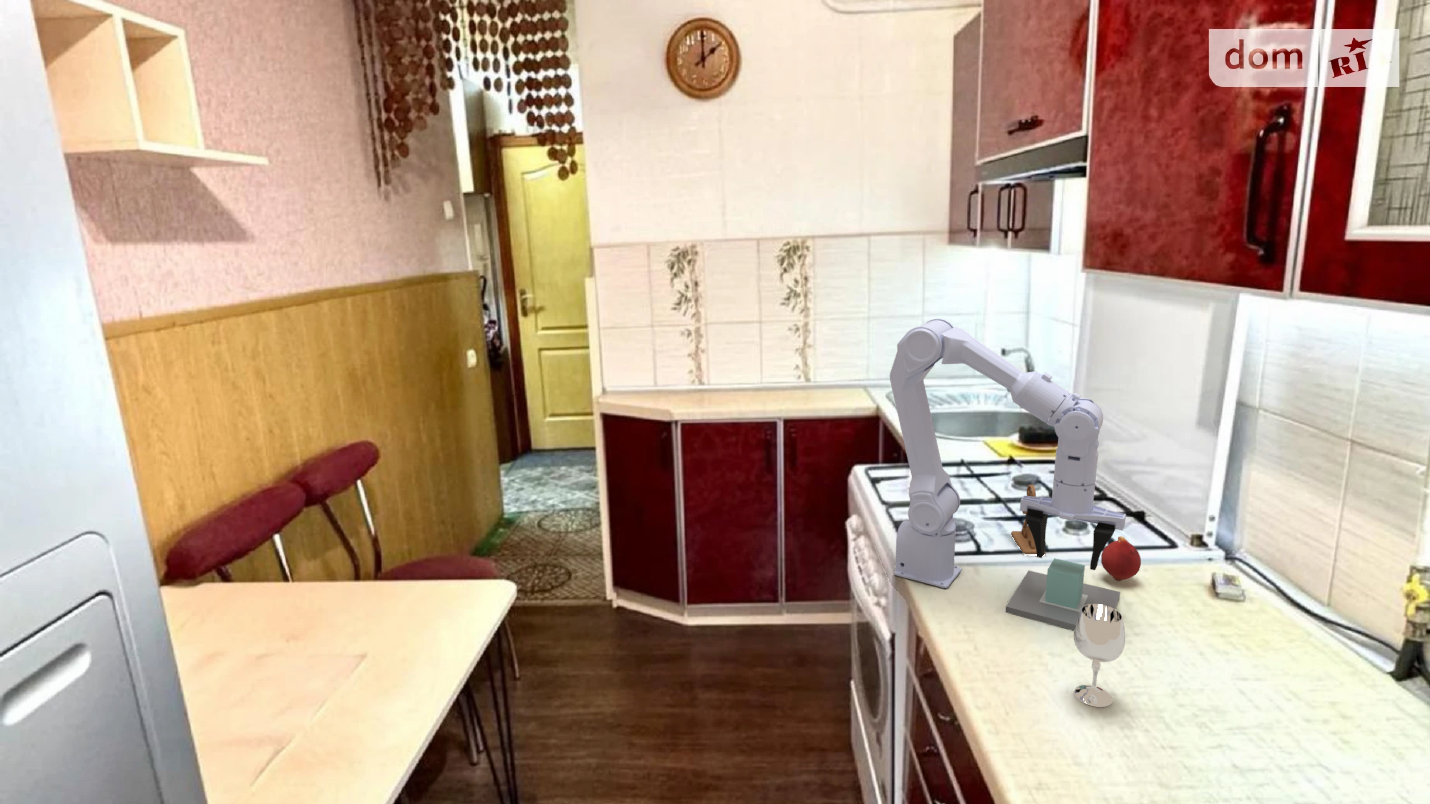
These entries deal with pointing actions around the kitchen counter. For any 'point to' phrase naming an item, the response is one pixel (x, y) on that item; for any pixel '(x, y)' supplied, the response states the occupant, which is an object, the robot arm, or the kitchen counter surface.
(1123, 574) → the onion
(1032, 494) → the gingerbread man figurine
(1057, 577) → the block
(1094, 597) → the tile
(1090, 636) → the wineglass
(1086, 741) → the kitchen counter surface
